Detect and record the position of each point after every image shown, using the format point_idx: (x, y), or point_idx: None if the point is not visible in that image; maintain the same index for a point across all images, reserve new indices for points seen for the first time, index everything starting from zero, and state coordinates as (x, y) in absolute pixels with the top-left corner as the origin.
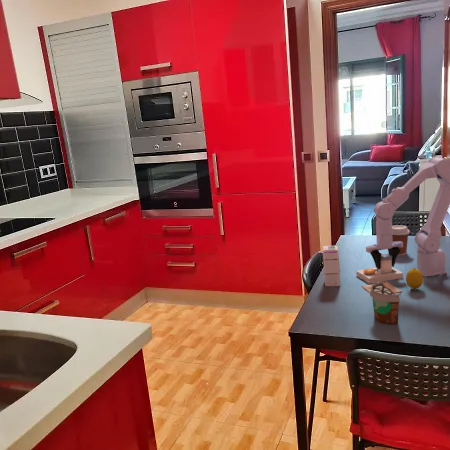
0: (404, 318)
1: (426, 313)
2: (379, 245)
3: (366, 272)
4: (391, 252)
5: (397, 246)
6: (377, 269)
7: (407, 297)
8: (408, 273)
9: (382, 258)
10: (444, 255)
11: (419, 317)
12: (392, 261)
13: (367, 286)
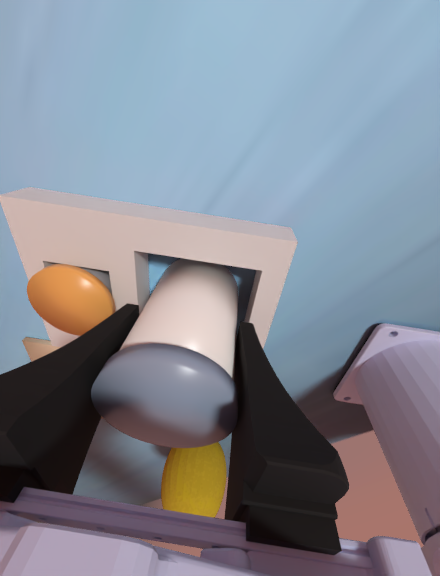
0: (82, 476)
1: (136, 484)
2: None
3: (42, 314)
4: (237, 456)
5: (323, 562)
6: (172, 253)
7: (145, 442)
8: (162, 504)
9: (116, 425)
10: None
11: (113, 484)
12: (234, 382)
13: (46, 353)
